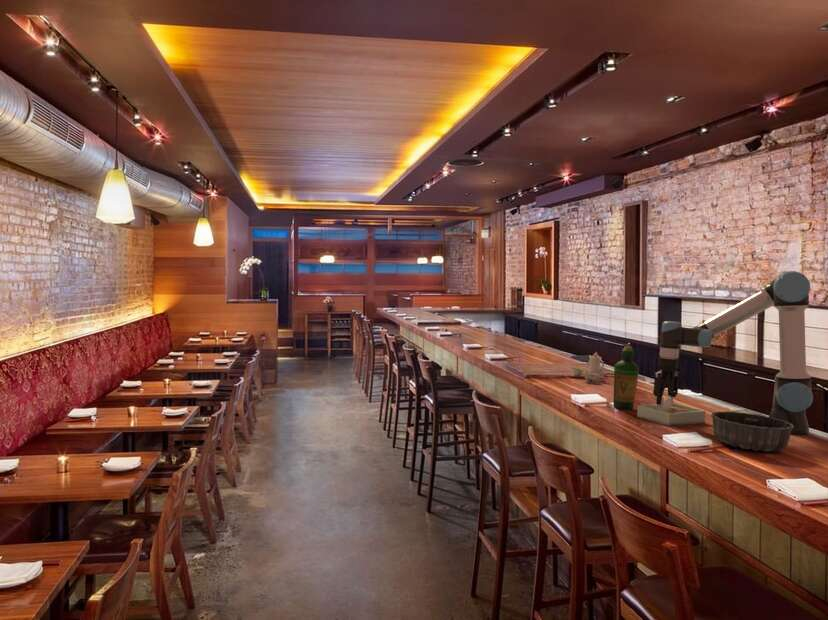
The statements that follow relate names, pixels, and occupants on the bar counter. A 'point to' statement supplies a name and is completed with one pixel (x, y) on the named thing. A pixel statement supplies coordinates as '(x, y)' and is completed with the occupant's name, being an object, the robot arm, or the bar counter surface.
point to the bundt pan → (751, 431)
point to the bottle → (625, 380)
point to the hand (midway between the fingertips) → (663, 411)
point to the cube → (677, 409)
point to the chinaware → (591, 369)
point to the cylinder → (666, 405)
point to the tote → (671, 415)
